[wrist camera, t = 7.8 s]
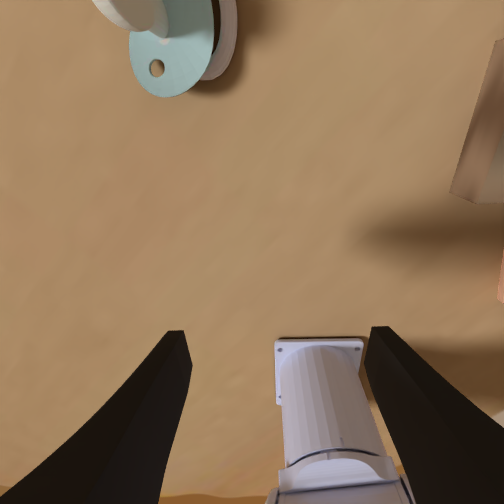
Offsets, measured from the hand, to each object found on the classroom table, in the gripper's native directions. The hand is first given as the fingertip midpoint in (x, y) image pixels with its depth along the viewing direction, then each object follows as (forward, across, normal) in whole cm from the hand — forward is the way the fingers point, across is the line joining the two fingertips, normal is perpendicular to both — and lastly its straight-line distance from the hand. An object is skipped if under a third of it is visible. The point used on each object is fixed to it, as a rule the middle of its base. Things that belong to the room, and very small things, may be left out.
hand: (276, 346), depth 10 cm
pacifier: (+11, +4, -13) cm, 17 cm away
